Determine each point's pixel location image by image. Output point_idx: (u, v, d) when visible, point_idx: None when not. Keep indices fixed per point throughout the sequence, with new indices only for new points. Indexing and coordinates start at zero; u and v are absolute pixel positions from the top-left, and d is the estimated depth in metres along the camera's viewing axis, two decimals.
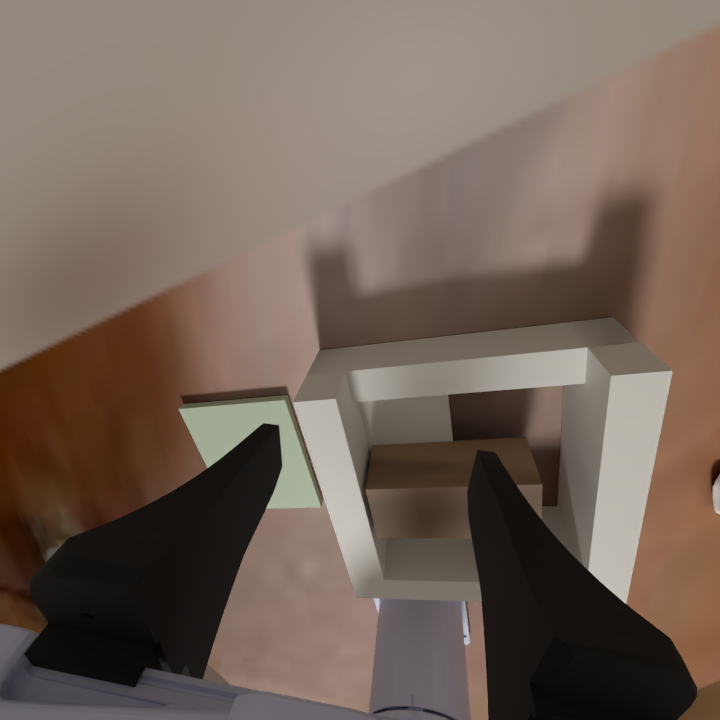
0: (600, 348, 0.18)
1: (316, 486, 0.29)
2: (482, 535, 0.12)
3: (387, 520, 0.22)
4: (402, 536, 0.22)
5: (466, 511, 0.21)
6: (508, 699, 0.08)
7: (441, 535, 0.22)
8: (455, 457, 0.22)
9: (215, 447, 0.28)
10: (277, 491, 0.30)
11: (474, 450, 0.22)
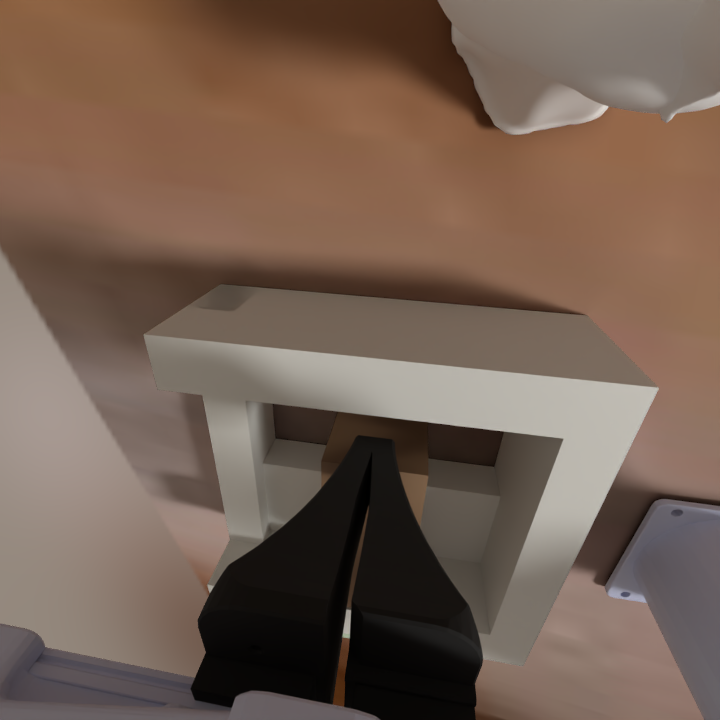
0: None
1: None
2: None
3: None
4: None
5: None
6: None
7: None
8: None
9: None
10: None
11: None
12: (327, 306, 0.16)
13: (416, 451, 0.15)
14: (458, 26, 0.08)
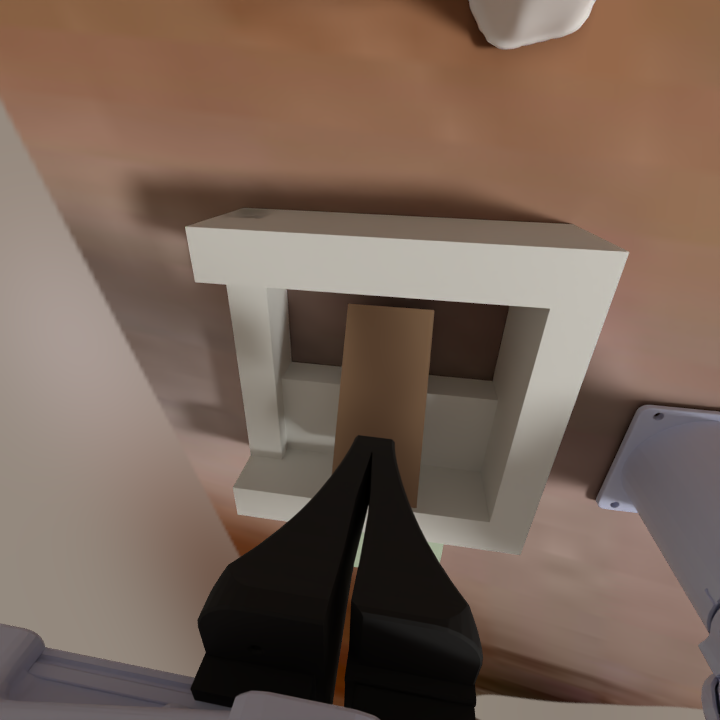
0: None
1: None
2: None
3: None
4: (415, 474, 0.17)
5: (379, 387, 0.18)
6: None
7: (418, 425, 0.17)
8: None
9: (357, 555, 0.31)
10: None
11: None
12: (341, 218, 0.18)
13: None
14: None
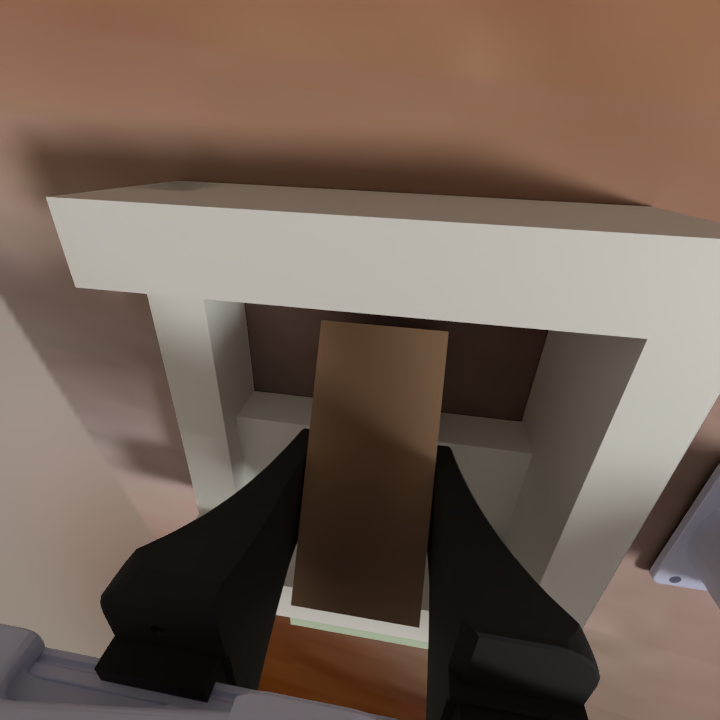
0: None
1: None
2: (431, 527, 0.12)
3: (370, 591, 0.12)
4: (417, 576, 0.12)
5: (366, 445, 0.12)
6: (437, 685, 0.09)
7: (423, 502, 0.12)
8: None
9: None
10: None
11: None
12: (312, 193, 0.12)
13: None
14: None
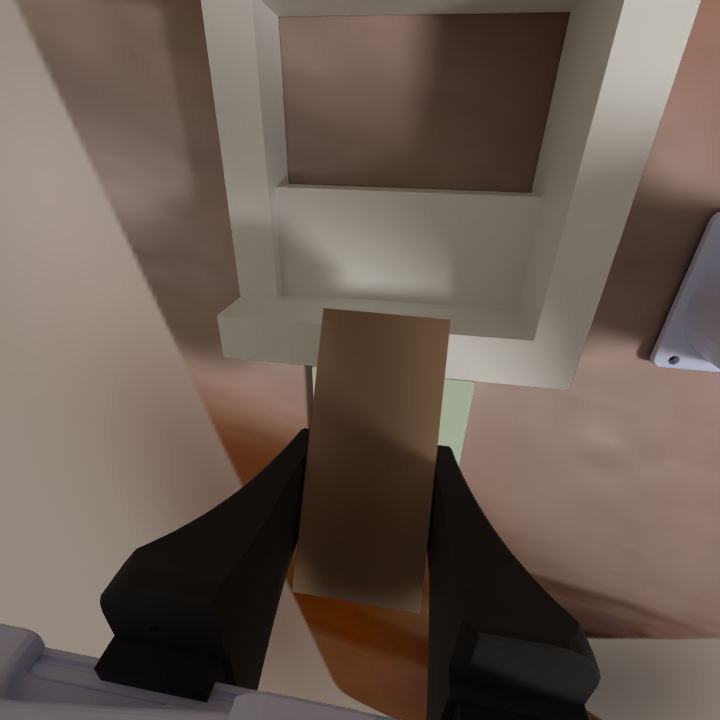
0: None
1: None
2: (432, 527, 0.12)
3: (371, 577, 0.12)
4: (418, 562, 0.12)
5: (367, 433, 0.12)
6: (437, 685, 0.09)
7: (424, 489, 0.12)
8: None
9: None
10: None
11: None
12: None
13: None
14: None
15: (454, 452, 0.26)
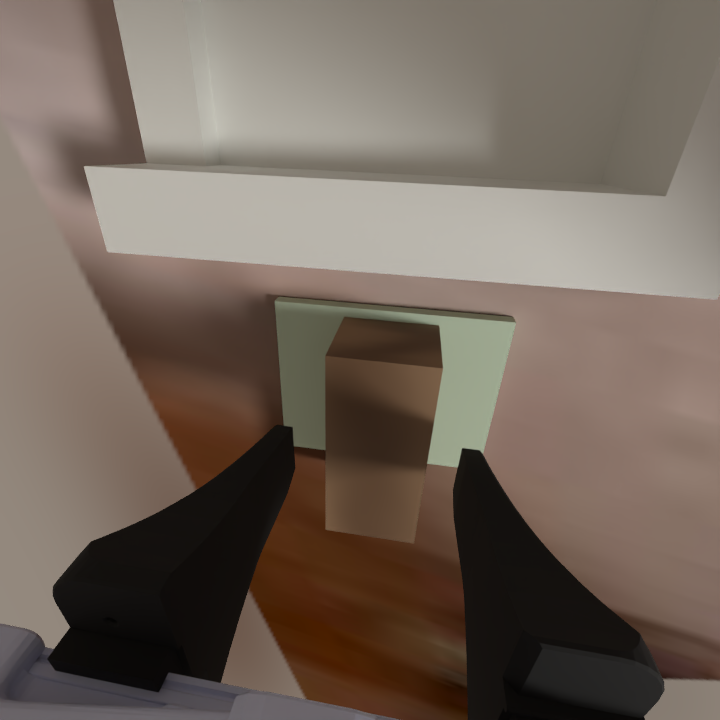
0: None
1: (468, 315, 0.16)
2: (465, 532, 0.12)
3: (380, 525, 0.17)
4: (413, 519, 0.16)
5: (372, 446, 0.15)
6: (484, 694, 0.08)
7: (417, 482, 0.15)
8: None
9: None
10: (457, 382, 0.17)
11: None
12: None
13: (428, 350, 0.14)
14: None
15: (478, 431, 0.18)
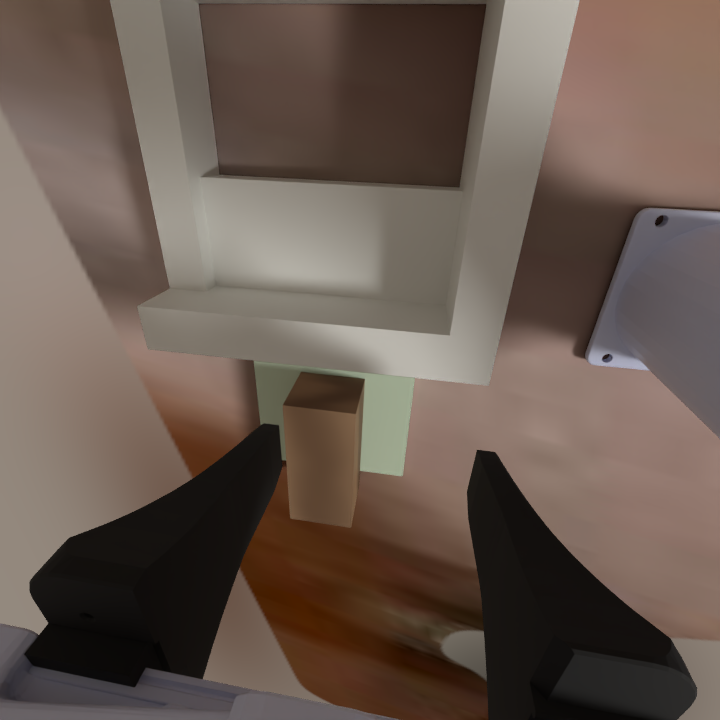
0: None
1: None
2: (482, 535, 0.12)
3: (326, 515, 0.24)
4: (348, 510, 0.24)
5: (316, 462, 0.22)
6: (508, 699, 0.08)
7: (348, 485, 0.23)
8: None
9: None
10: (381, 416, 0.25)
11: None
12: None
13: (351, 399, 0.21)
14: None
15: (399, 449, 0.26)
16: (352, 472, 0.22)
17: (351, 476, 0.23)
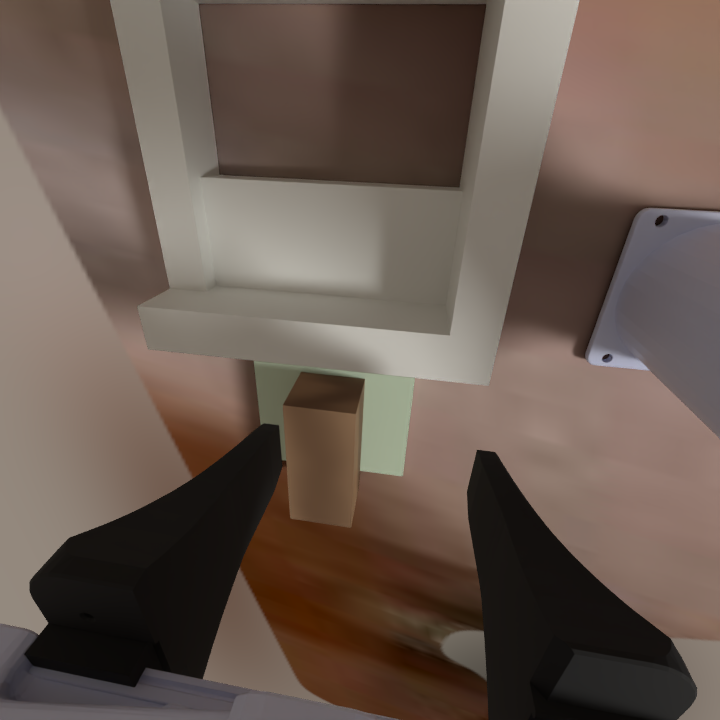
0: None
1: None
2: (482, 535, 0.12)
3: (326, 515, 0.24)
4: (348, 510, 0.24)
5: (316, 462, 0.22)
6: (508, 699, 0.08)
7: (348, 485, 0.23)
8: None
9: None
10: (381, 416, 0.25)
11: None
12: None
13: (351, 399, 0.21)
14: None
15: (399, 449, 0.26)
16: (352, 472, 0.22)
17: (351, 476, 0.23)
